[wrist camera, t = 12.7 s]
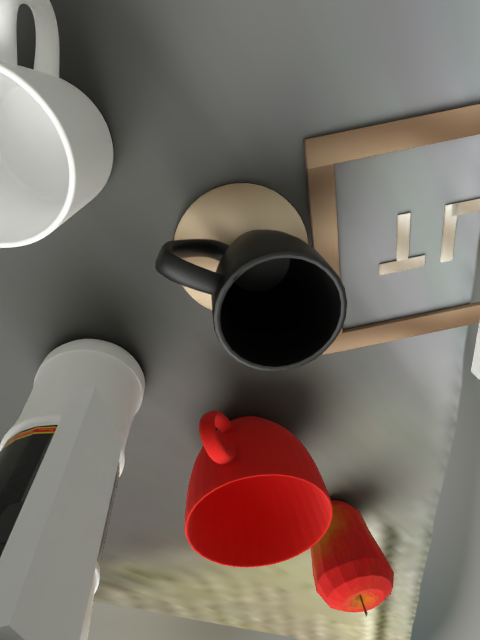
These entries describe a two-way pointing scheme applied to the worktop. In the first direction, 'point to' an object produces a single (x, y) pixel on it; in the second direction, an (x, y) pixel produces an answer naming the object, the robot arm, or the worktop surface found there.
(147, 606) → the worktop surface
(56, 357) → the vodka
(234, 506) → the ceramic cup
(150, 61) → the worktop surface
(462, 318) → the brown wooden frame
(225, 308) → the mug
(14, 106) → the cup
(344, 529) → the apple
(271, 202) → the coaster
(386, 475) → the worktop surface
